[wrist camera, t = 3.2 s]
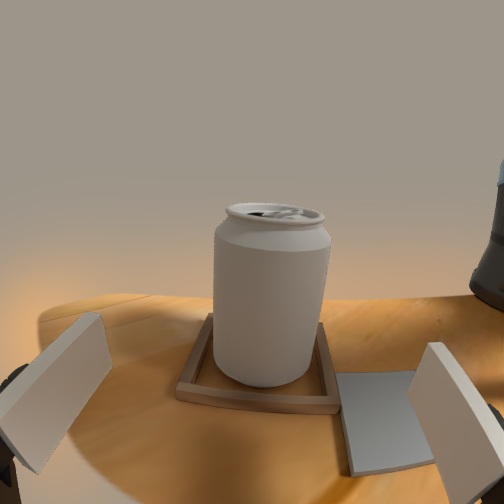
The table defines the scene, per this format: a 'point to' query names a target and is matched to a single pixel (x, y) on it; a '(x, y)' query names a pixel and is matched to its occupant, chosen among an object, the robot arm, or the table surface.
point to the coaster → (380, 423)
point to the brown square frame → (255, 400)
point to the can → (268, 291)
